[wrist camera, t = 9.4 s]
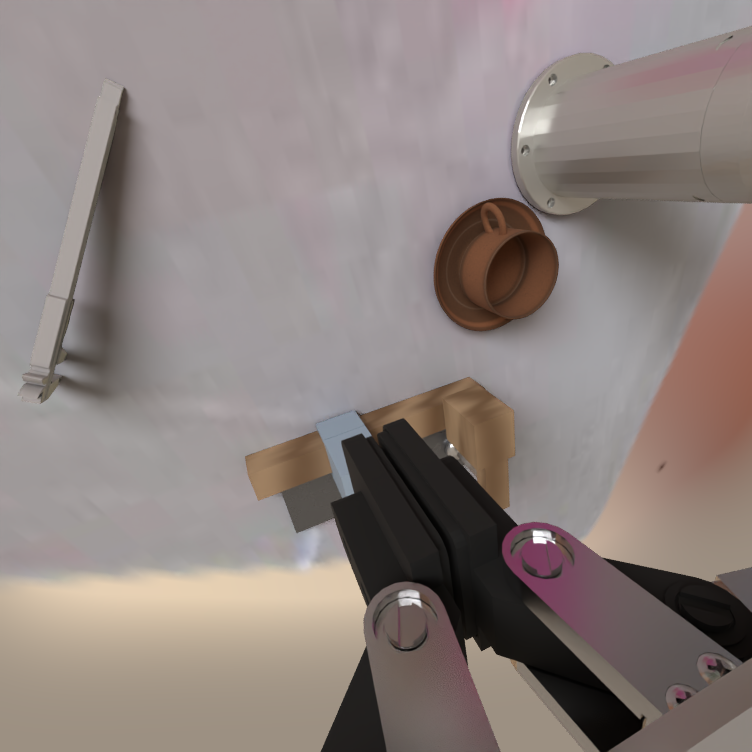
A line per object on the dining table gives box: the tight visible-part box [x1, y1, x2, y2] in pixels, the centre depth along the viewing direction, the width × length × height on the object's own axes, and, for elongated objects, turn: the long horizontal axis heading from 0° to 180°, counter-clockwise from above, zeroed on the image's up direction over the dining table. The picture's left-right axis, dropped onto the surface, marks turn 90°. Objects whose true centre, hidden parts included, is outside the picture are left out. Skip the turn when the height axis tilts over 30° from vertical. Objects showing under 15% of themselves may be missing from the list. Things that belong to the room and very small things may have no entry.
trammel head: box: [316, 410, 372, 498], centre depth 40 cm, size 4×11×9 cm, turn 11°
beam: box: [245, 377, 515, 509], centre depth 41 cm, size 24×11×9 cm, turn 101°
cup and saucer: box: [434, 198, 559, 331], centre depth 38 cm, size 12×12×6 cm
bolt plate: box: [282, 429, 464, 533], centre depth 46 cm, size 24×6×2 cm, turn 101°
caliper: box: [17, 78, 124, 404], centre depth 27 cm, size 21×1×6 cm, turn 157°
